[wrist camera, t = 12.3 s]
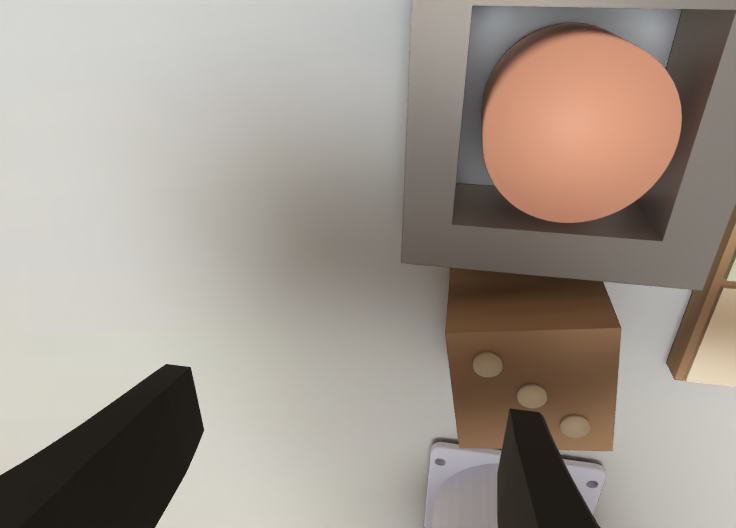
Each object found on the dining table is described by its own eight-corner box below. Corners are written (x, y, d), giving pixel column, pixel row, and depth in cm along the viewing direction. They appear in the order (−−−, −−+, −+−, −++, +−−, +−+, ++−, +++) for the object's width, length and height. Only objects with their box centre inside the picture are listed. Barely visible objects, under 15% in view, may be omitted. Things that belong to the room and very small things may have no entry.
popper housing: (665, 238, 19) (702, 290, 16) (412, 217, 20) (400, 263, 17) (762, -61, 14) (838, -68, 11) (426, -61, 15) (414, -67, 12)
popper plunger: (621, 183, 17) (651, 229, 14) (474, 174, 18) (473, 216, 15) (662, 24, 15) (709, 40, 12) (491, 21, 16) (494, 35, 13)
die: (585, 354, 22) (613, 455, 17) (462, 356, 23) (459, 451, 18) (588, 246, 19) (622, 331, 15) (451, 255, 20) (445, 336, 16)
